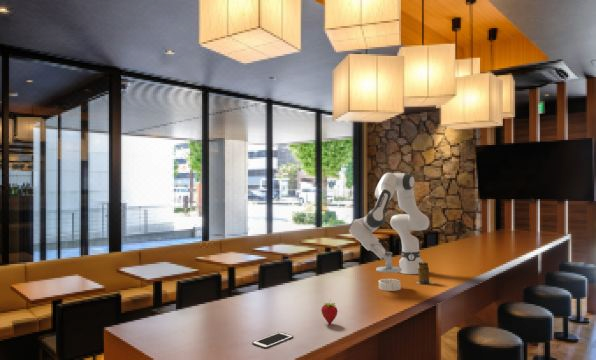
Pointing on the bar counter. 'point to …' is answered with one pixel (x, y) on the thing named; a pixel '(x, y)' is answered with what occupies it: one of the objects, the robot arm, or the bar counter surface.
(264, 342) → the cell phone
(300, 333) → the bar counter surface
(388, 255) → the lid
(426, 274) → the condiment
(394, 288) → the bowl
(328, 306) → the strawberry
